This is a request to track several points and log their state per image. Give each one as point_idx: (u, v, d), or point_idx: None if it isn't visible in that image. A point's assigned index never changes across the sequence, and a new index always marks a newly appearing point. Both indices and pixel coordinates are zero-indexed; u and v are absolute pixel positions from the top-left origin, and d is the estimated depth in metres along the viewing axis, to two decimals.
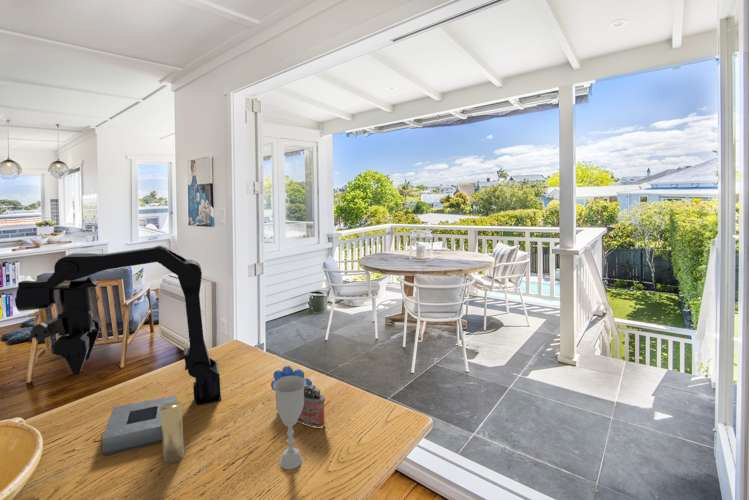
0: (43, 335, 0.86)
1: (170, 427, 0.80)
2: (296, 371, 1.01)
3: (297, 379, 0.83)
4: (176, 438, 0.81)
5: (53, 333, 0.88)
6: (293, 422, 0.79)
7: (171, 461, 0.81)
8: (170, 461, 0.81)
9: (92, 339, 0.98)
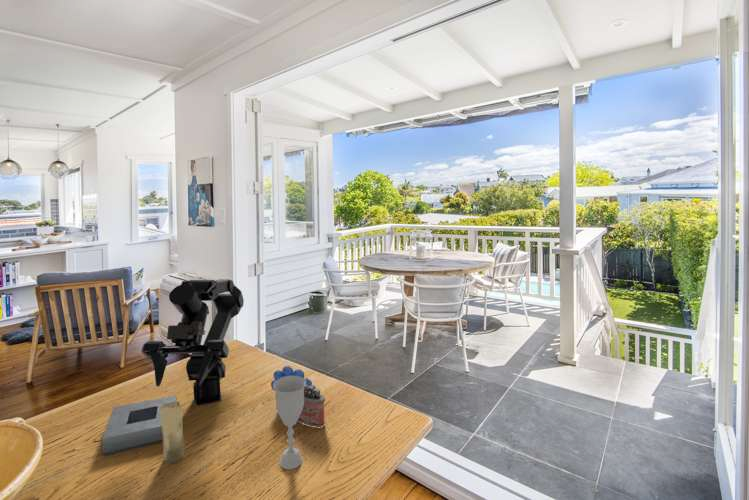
0: (200, 333, 0.90)
1: (170, 427, 0.80)
2: (296, 371, 1.01)
3: (297, 379, 0.83)
4: (176, 438, 0.81)
5: (193, 337, 0.90)
6: (293, 422, 0.79)
7: (171, 461, 0.81)
8: (170, 461, 0.81)
9: (164, 366, 0.91)
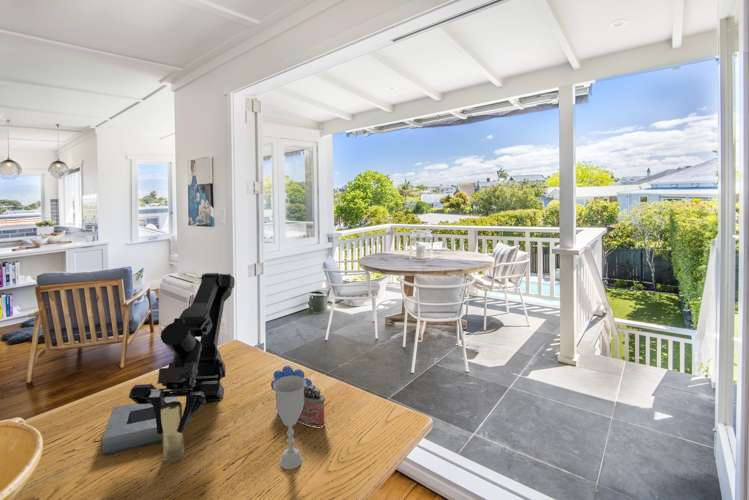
0: (193, 375, 0.83)
1: (170, 427, 0.80)
2: (296, 371, 1.01)
3: (297, 379, 0.83)
4: (177, 438, 0.81)
5: (186, 379, 0.84)
6: (292, 422, 0.79)
7: (171, 461, 0.81)
8: (170, 461, 0.81)
9: None
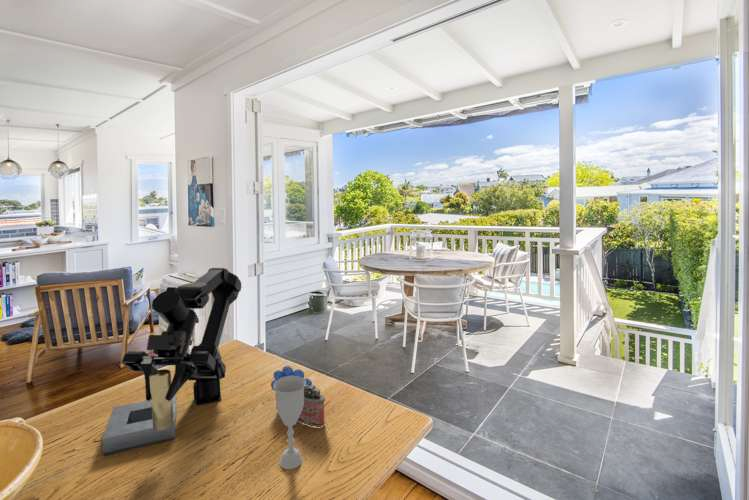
0: (182, 344, 0.83)
1: (157, 394, 0.80)
2: (296, 371, 1.01)
3: (297, 379, 0.83)
4: (165, 405, 0.81)
5: (176, 348, 0.84)
6: (293, 422, 0.79)
7: (159, 428, 0.81)
8: (158, 428, 0.81)
9: None
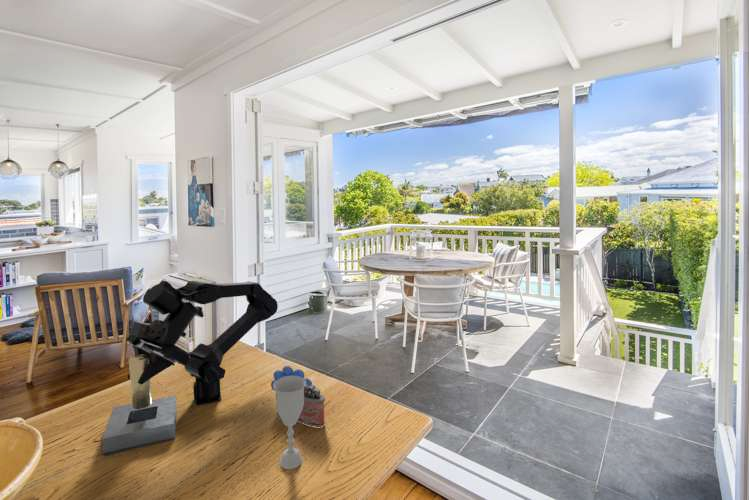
0: (156, 335, 0.89)
1: (131, 376, 0.88)
2: (296, 371, 1.01)
3: (297, 379, 0.83)
4: (137, 387, 0.89)
5: (154, 337, 0.90)
6: (292, 422, 0.79)
7: (134, 406, 0.90)
8: (133, 406, 0.90)
9: None
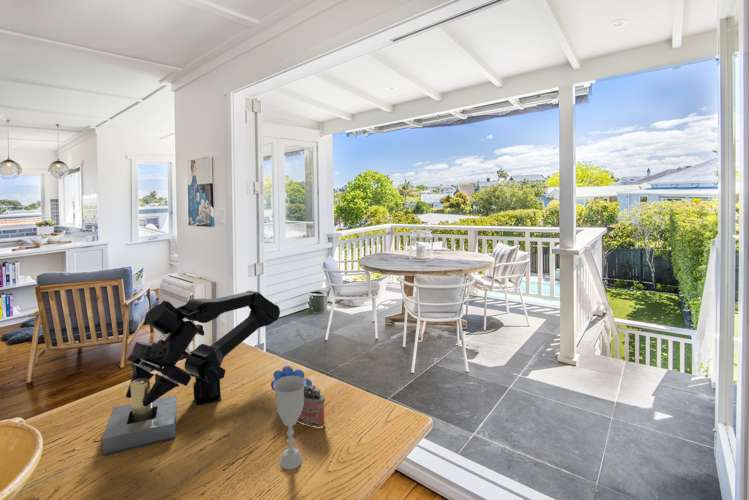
0: (157, 355, 0.89)
1: (133, 400, 0.89)
2: (296, 371, 1.01)
3: (297, 379, 0.83)
4: (139, 412, 0.90)
5: (156, 357, 0.91)
6: (292, 422, 0.79)
7: None
8: None
9: None
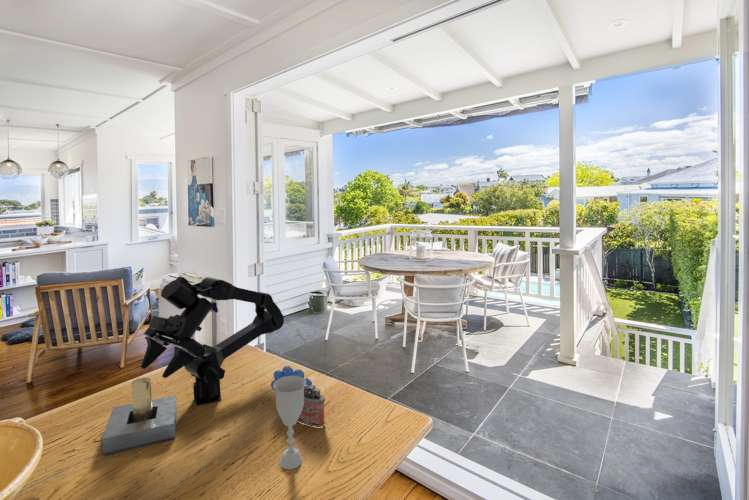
0: (174, 328, 0.93)
1: (134, 400, 0.89)
2: (296, 371, 1.01)
3: (297, 379, 0.83)
4: (139, 411, 0.90)
5: (172, 330, 0.94)
6: (292, 422, 0.79)
7: None
8: None
9: (159, 352, 0.99)
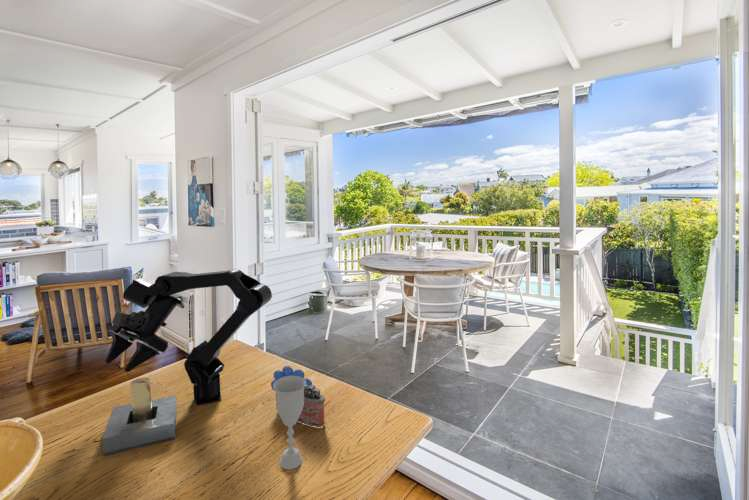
0: (136, 323, 0.95)
1: (133, 400, 0.89)
2: (296, 371, 1.01)
3: (297, 379, 0.83)
4: (139, 411, 0.90)
5: (135, 326, 0.97)
6: (293, 422, 0.79)
7: None
8: None
9: (124, 348, 1.02)
